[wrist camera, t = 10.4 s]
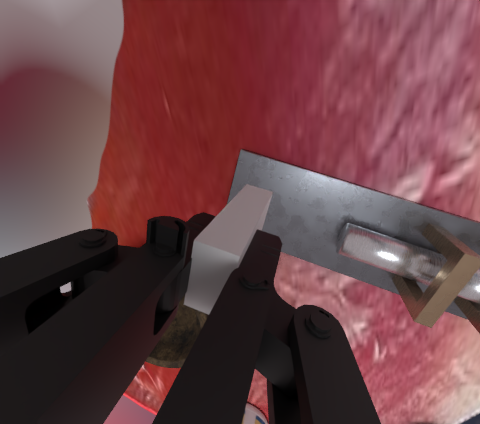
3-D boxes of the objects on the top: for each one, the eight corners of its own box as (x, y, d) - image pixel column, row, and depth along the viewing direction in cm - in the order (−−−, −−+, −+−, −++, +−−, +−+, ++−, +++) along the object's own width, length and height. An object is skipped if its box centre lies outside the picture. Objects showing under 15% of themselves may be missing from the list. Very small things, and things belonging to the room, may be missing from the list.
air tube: (335, 242, 38) (337, 259, 34) (348, 217, 36) (351, 233, 32) (487, 295, 35) (509, 321, 31) (512, 272, 32) (539, 297, 29)
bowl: (237, 254, 44) (219, 289, 35) (220, 339, 53) (202, 385, 43) (132, 223, 48) (91, 247, 39) (132, 307, 56) (98, 342, 47)
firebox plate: (242, 149, 37) (222, 157, 29) (564, 248, 31) (662, 296, 23) (222, 227, 43) (200, 253, 34) (492, 324, 37) (548, 387, 28)
